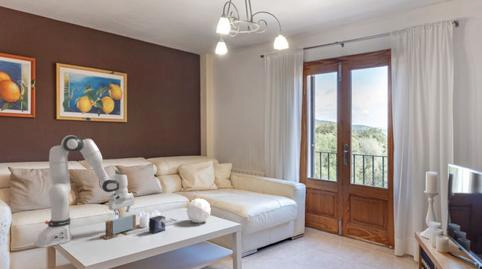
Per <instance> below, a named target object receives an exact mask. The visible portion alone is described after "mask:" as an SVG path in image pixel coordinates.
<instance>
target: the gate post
mask: <svg viewBox="0 0 482 269" xmlns="http://www.w3.org/2000/svg"><path fill="white" fill-rule="evenodd" d="M99 237H100V238H101V239H104V240H106V241H107V240H110V239H111V240H112V239H115V238H117V237H118V234H116V233H115V234H112V221H111V220H106V221H105V234H102V235H100V236H99Z"/></svg>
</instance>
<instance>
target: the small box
mask: <svg viewBox="0 0 482 269" xmlns="http://www.w3.org/2000/svg"><path fill="white" fill-rule="evenodd" d="M148 220H149V221H148V222H149V223H148V225H149V226H148V227H149V228H148V233H150V234H154V235H156V234H158V233H162V232H164V231H166V216H163V215H162V214H161V215H156V216H153V217H149V219H148Z"/></svg>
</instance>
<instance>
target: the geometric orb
mask: <svg viewBox="0 0 482 269" xmlns="http://www.w3.org/2000/svg"><path fill="white" fill-rule="evenodd" d="M211 211H212V209H211V206H210V203H209V202H208V201H207V200H206V199H203V198H195V199H193V200H191V201H190V202H189V204H188V205H187V208H186V213H187V217H188V219H189V220H190V221H191V222H192V223H197V224H202V223H204V222H206V221H207V220H208V219H209V218H210V216H211Z"/></svg>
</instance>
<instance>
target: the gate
mask: <svg viewBox="0 0 482 269" xmlns="http://www.w3.org/2000/svg"><path fill="white" fill-rule="evenodd" d="M110 221H112V234H115V235H116V234H118V233H121V232H125V231H129V230H131V229H135V228H137V215H136V214H131V215H126V216H123V217H119V218H115V219H112V220H110Z"/></svg>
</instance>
